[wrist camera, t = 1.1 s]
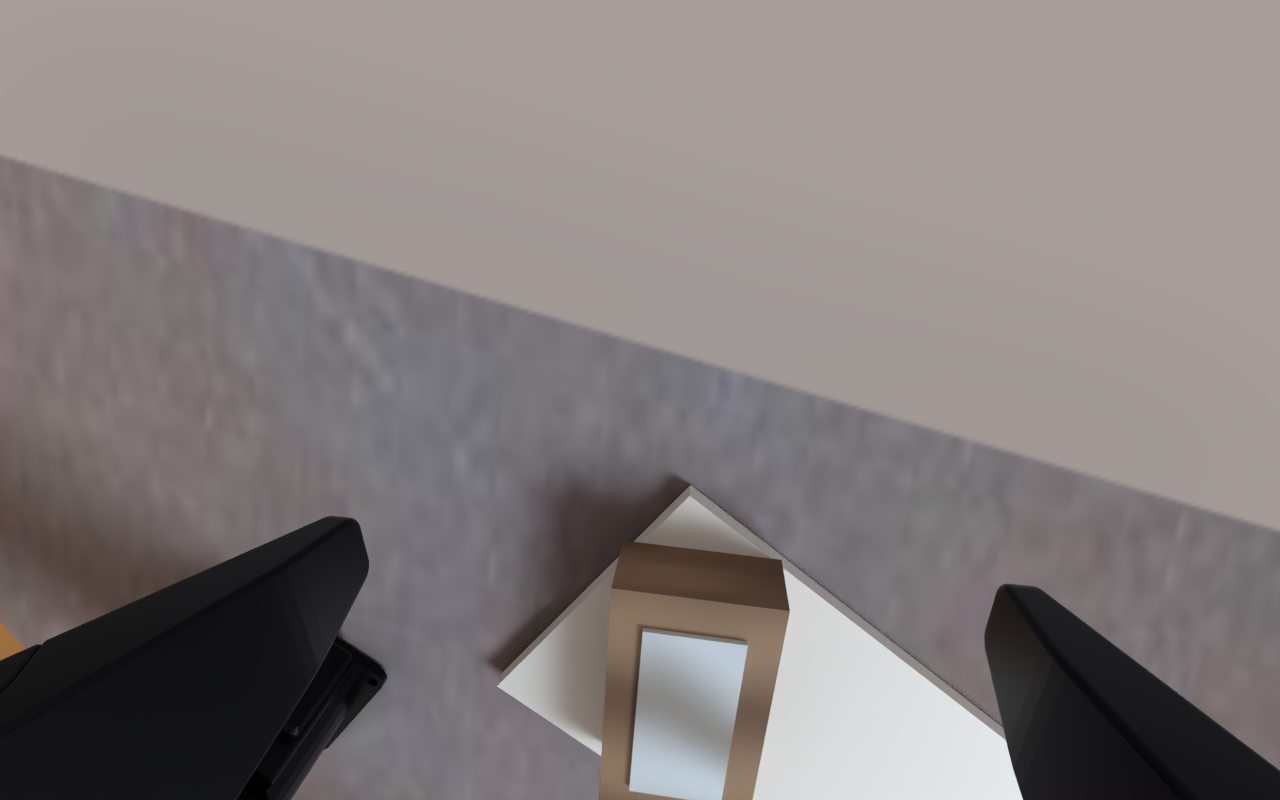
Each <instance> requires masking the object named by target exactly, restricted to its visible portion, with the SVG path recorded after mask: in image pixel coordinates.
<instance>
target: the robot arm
mask: <svg viewBox="0 0 1280 800" xmlns="http://www.w3.org/2000/svg"><path fill="white" fill-rule="evenodd" d="M368 569H369V560H368V555H367V552H366V548H365V544H364V540H363V536H362V532H361V528H360V525H359V523H358V522H357V521H356V520H355V519H353V518H347V517H337V516H328V517H325V518H322V519H320V520H318V521H316V522H313V523H311V524H309V525H307V526H304V527H302V528H300V529H298V530H295V531H293V532H291V533H289V534H286V535H284V536H282V537H279V538H277V539H275V540H273V541H270V542H268V543H266V544H264V545H261V546H259V547H257V548H255V549H252V550H250V551H248V552H245V553H243V554H241V555H239V556H236V557H234V558H232V559H230V560H227V561H225V562H223V563H221V564H218V565H216V566H214V567H211V568H209V569H207V570H205V571H202V572H200V573H198V574H196V575H193V576H191V577H189V578H187V579H184V580H182V581H180V582H178V583H175V584H173V585H171V586H168V587H166V588H164V589H162V590H159V591H157V592H155V593H153V594H150V595H148V596H146V597H144V598H141V599H139V600H137V601H134V602H132V603H130V604H128V605H125V606H123V607H121V608H119V609H116V610H114V611H112V612H110V613H107V614H105V615H103V616H100V617H98V618H96V619H94V620H91V621H89V622H87V623H85V624H82V625H80V626H78V627H76V628H73V629H71V630H69V631H66V632H64V633H62V634H60V635H57V636H55V637H53V638H51V639H48V640H46V641H45V642H44V643H43V644H42V645H39V644H38V645H34V646H32V647H30V648H28V649H25V650H23V651H21V652H19V653H16V654H14V655H12V656H10V657H8V658H5V659H3V660H1V661H0V800H291V799H292V797H293V796H294V794H295V793H296V791H297V789H298V788H299V786H300V785H301V783H302V782H303V780H304V779H305V777H306V776H307V774H308V773H309V771H310V770H311V768H312V767H313V765H314V763H315V762H316V760H317V759H318V757H319V756H320V754H321V753H322V751H323V750H324V749H327V748H328V747H329V746H330V745H331V744H332V743H333V741H334V740H335V739H336V738H337V737H338V736H339V735H340V734H341V732H342V731H343V730H344V729H345V728H346V727H347V726H348V725H349V724H350V722H351V721H352V720H353V719H354V718H355V717H356V716H357V715H358V713H359V712H360V711H361V710H362V709H363V708H364V707H365V706H366V704H367V703H368V702H369V701H370V700H371V699H372V698H373V697H374V695H375V694H376V693H377V692H378V691H379V690H380V689H381V688H382V686H383V684H384V683H385V681H386V679H387V675H386V673H385V671H384V670H382V669H381V668H380V667H378V666H376V665H375V664H373V663H372V662H370V661H369V660H367V659H366V658H364V657H363V656H361V655H360V654H358V653H357V652H355V651H354V650H352V649H350V648H349V647H347V646H346V645H344V644H343V643H341V642H340V641H338V640H337V639H335V638H336V636H337V634H338V632H339V630H340V628H341V626H342V624H343V622H344V620H345V618H346V616H347V614H348V612H349V611H350V609H351V607H352V605H353V603H354V601H355V599H356V597H357V595H358V593H359V591H360V589H361V587H362V585H363V583H364V581H365V579H366V577H367V574H368ZM984 644H985V651H986V656H987V660H988V665H989V669H990V673H991V678H992V682H993V686H994V691H995V695H996V700H997V704H998V708H999V713H1000V717H1001V721H1002V726H1003V730H1004V734H1005V739H1006V743H1007V747H1008V752H1009V755H1010V759H1011V763H1012V767H1013V771H1014V774H1015V777H1016V780H1017V783H1018V786H1019V789H1020V792H1021V795H1022V798H1023V800H1280V770H1279V769H1277V768H1276V767H1275V766H1273V765H1272V764H1271V763H1269V762H1268V761H1267V760H1265V759H1264V758H1263V757H1261V756H1260V755H1259V754H1257V753H1256V752H1255V751H1253V750H1252V749H1251V748H1250V747H1248V746H1247V745H1246V744H1244V743H1243V742H1242V741H1240V740H1239V739H1238V738H1236V737H1235V736H1234V735H1232V734H1231V733H1230V732H1228V731H1227V730H1226V729H1224V728H1223V727H1222V726H1221V725H1219V724H1218V723H1217V722H1215V721H1214V720H1213V719H1211V718H1210V717H1209V716H1207V715H1206V714H1205V713H1203V712H1202V711H1201V710H1199V709H1198V708H1197V707H1195V706H1194V705H1193V704H1192V703H1190V702H1189V701H1188V700H1186V699H1185V698H1184V697H1182V696H1181V695H1180V694H1178V693H1177V692H1176V691H1174V690H1173V689H1172V688H1170V687H1169V686H1168V685H1166V684H1165V683H1164V682H1163V681H1161V680H1160V679H1159V678H1157V677H1156V676H1155V675H1153V674H1152V673H1151V672H1149V671H1148V670H1147V669H1145V668H1144V667H1143V666H1141V665H1140V664H1139V663H1137V662H1136V661H1135V660H1134V659H1132V658H1131V657H1130V656H1128V655H1127V654H1126V653H1124V652H1123V651H1122V650H1120V649H1119V648H1118V647H1116V646H1115V645H1114V644H1112V643H1111V642H1110V641H1108V640H1107V639H1106V638H1105V637H1103V636H1102V635H1101V634H1099V633H1098V632H1097V631H1095V630H1094V629H1093V628H1091V627H1090V626H1089V625H1087V624H1086V623H1085V622H1083V621H1082V620H1081V619H1079V618H1078V617H1077V616H1075V615H1074V614H1073V613H1072V612H1070V611H1069V610H1068V609H1066V608H1065V607H1064V606H1062V605H1061V604H1060V603H1058V602H1057V601H1056V600H1054V599H1053V598H1052V597H1050V596H1049V595H1048V594H1046V593H1045V592H1044V591H1042V590H1041V589H1039V588H1037V587H1034V586H1026V585H1016V584H1004V585H1002V586H1000V587H999V589H998V590H997V592H996V595H995V599H994V602H993V606H992V609H991V612H990V616H989V619H988V622H987V626H986V629H985V635H984Z"/></svg>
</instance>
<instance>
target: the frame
mask: <svg viewBox="0 0 1280 800" xmlns="http://www.w3.org/2000/svg"><path fill="white" fill-rule="evenodd" d="M789 613H790V608H789V602H788V596H787V590H786V584H785V578H784V572H783V566H782V560H779V559H771V558H762V557H754V556H746V555H738V554H730V553H721V552H713V551H705V550H697V549H689V548H680V547H672V546H664V545H656V544H648V543H639V542H631V541H622V545H621V549H620V554H619V558H618V562H617V566H616V570H615V575H614V579H613V583H612V587H611V601H610V618H609V635H608V652H607V669H606V685H605V702H604V719H603V736H602V753H601V769H600V786H599V800H753V795H754V790H755V785H756V780H757V775H758V770H759V765H760V760H761V755H762V750H763V745H764V740H765V735H766V729H767V724H768V719H769V714H770V709H771V704H772V699H773V694H774V689H775V684H776V679H777V674H778V669H779V664H780V659H781V654H782V649H783V644H784V639H785V634H786V628H787V623H788V618H789Z"/></svg>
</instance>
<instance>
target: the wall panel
mask: <svg viewBox="0 0 1280 800" xmlns="http://www.w3.org/2000/svg"><path fill="white" fill-rule="evenodd" d="M634 542H639V543H648V544H656V545H664V546H672V547H680V548H689V549H697V550H705V551H713V552H721V553H730V554H738V555H746V556H754V557H762V558H771V559H779V560H782V566H783V572H784V578H785V584H786V590H787V596H788V602H789V608H790V613H789V618H788V623H787V628H786V634H785V639H784V644H783V649H782V654H781V659H780V664H779V669H778V674H777V679H776V684H775V689H774V694H773V699H772V704H771V709H770V714H769V719H768V724H767V729H766V735H765V740H764V745H763V750H762V755H761V760H760V765H759V770H758V775H757V780H756V785H755V790H754V795H753V800H1023V798H1022V795H1021V792H1020V789H1019V786H1018V783H1017V780H1016V777H1015V774H1014V771H1013V767H1012V763H1011V759H1010V755H1009V752H1008V747H1007V743H1006V739H1005V734H1004V730H1003V727H1001V726H1000V725H999V724H997V723H996V722H995V721H994V720H992V719H991V718H990V717H988V716H987V715H986V714H985V713H983V712H982V711H981V710H979V709H978V708H977V707H976V706H974V705H973V704H972V703H970V702H969V701H968V700H967V699H965V698H964V697H963V696H961V695H960V694H959V693H958V692H956V691H955V690H954V689H952V688H951V687H950V686H949V685H947V684H946V683H945V682H943V681H942V680H941V679H940V678H938V677H937V676H936V675H934V674H933V673H932V672H931V671H929V670H928V669H927V668H925V667H924V666H923V665H922V664H920V663H919V662H918V661H916V660H915V659H914V658H913V657H911V656H910V655H909V654H907V653H906V652H905V651H904V650H902V649H901V648H900V647H898V646H897V645H896V644H895V643H893V642H892V641H891V640H889V639H888V638H887V637H886V636H884V635H883V634H882V633H880V632H879V631H878V630H877V629H875V628H874V627H873V626H871V625H870V624H869V623H868V622H866V621H865V620H864V619H862V618H861V617H860V616H859V615H857V614H856V613H855V612H853V611H852V610H851V609H850V608H848V607H847V606H846V605H844V604H843V603H842V602H841V601H839V600H838V599H837V598H835V597H834V596H833V595H832V594H830V593H829V592H828V591H826V590H825V589H824V588H823V587H821V586H820V585H819V584H817V583H816V582H815V581H814V580H812V579H811V578H810V577H808V576H807V575H806V574H805V573H803V572H802V571H801V570H799V569H798V568H797V567H796V566H794V565H793V564H792V563H790V562H789V561H788V560H787V559H785V558H784V557H783V556H781V555H780V554H779V553H778V552H776V551H775V550H774V549H772V548H771V547H770V546H769V545H767V544H766V543H765V542H763V541H762V540H761V539H760V538H758V537H757V536H756V535H754V534H753V533H752V532H751V531H749V530H748V529H747V528H745V527H744V526H743V525H742V524H740V523H739V522H738V521H736V520H735V519H734V518H733V517H731V516H730V515H729V514H727V513H726V512H725V511H724V510H722V509H721V508H720V507H718V506H717V505H716V504H715V503H713V502H712V501H711V500H709V499H708V498H707V497H706V496H704V495H703V494H702V493H700V492H699V491H698V490H697V489H695V488H694V487H693V486H691V485H690V486H689V487H688V488H687V489H686V490H685V491H684V492H683V493H682V494H681V495H680V496H679V497H678V498H677V499H676V500H675V501H674V502H673V503H672V504H671V505H670V506H669V507H668V508H667V509H666V510H665V511H664V512H663V513H662V514H661V515H660V516H659V517H658V518H657V519H656V520H655V521H654V522H653V523H652V524H651V525H650V526H649V527H648V528H647V529H646V530H645V531H644V532H643V533H642V534H641V535H640V536H639V537H638V538H637V539H636V540H635V541H634ZM618 558H619V557H618ZM618 558H617V559H616V560H615V561H614V562H613V563H612V564H611V565H610V566H609V567H608V568H607V569H606V570H605V571H604V572H603V573H602V574H601V575H600V576H599V577H597V578H596V579H595V580H594V581H593V582H592V583H591V584H590V585H589V586H588V587H587V588H586V589H585V590H584V591H583V592H582V593H581V594H580V595H579V596H578V597H577V598H576V599H575V600H574V601H573V602H572V603H571V604H570V605H569V606H568V607H567V608H566V609H565V610H564V611H563V612H562V613H561V614H560V615H559V616H558V617H557V618H556V619H555V620H554V621H553V622H552V623H551V624H550V625H549V626H548V627H547V628H546V629H545V630H544V631H543V632H542V633H541V634H540V635H539V636H538V637H537V638H536V639H535V640H534V641H533V642H532V643H531V644H530V645H529V646H528V647H527V648H526V649H525V650H524V651H523V652H522V653H521V654H520V655H519V656H518V657H517V658H516V659H515V660H514V661H513V662H512V663H511V664H510V665H509V666H508V667H507V668H506V669H505V670H504V671H503V672H502V675H501V677H500V680H499V682H498V684H497V687H499V688H500V689H502V690H503V691H505V692H506V693H508V694H509V695H511V696H512V697H514V698H515V699H517V700H518V701H520V702H521V703H523V704H524V705H526V706H527V707H529V708H530V709H532V710H533V711H535V712H536V713H538V714H539V715H541V716H542V717H544V718H545V719H547V720H548V721H550V722H551V723H553V724H554V725H556V726H557V727H559V728H560V729H562V730H563V731H565V732H566V733H567V734H569V735H570V736H572V737H573V738H575V739H576V740H578V741H579V742H581V743H582V744H584V745H585V746H587V747H588V748H590V749H591V750H593V751H594V752H596V753H597V754H599V755H600V756H601V753H602V736H603V719H604V702H605V685H606V669H607V652H608V635H609V618H610V601H611V587H612V583H613V579H614V575H615V570H616V566H617V562H618Z"/></svg>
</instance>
